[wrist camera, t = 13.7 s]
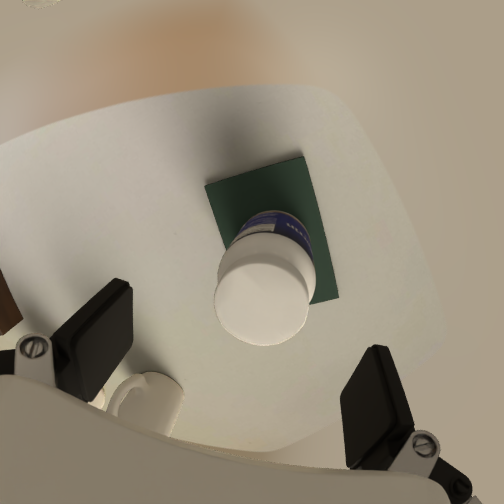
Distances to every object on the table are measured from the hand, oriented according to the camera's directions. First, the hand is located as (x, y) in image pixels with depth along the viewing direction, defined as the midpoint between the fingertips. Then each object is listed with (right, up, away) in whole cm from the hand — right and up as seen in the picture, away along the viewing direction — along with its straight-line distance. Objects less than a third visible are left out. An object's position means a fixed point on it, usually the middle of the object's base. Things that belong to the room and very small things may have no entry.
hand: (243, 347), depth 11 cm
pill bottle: (+2, +4, +13) cm, 14 cm away
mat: (+2, +4, +13) cm, 14 cm away
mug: (-11, -12, +21) cm, 26 cm away
